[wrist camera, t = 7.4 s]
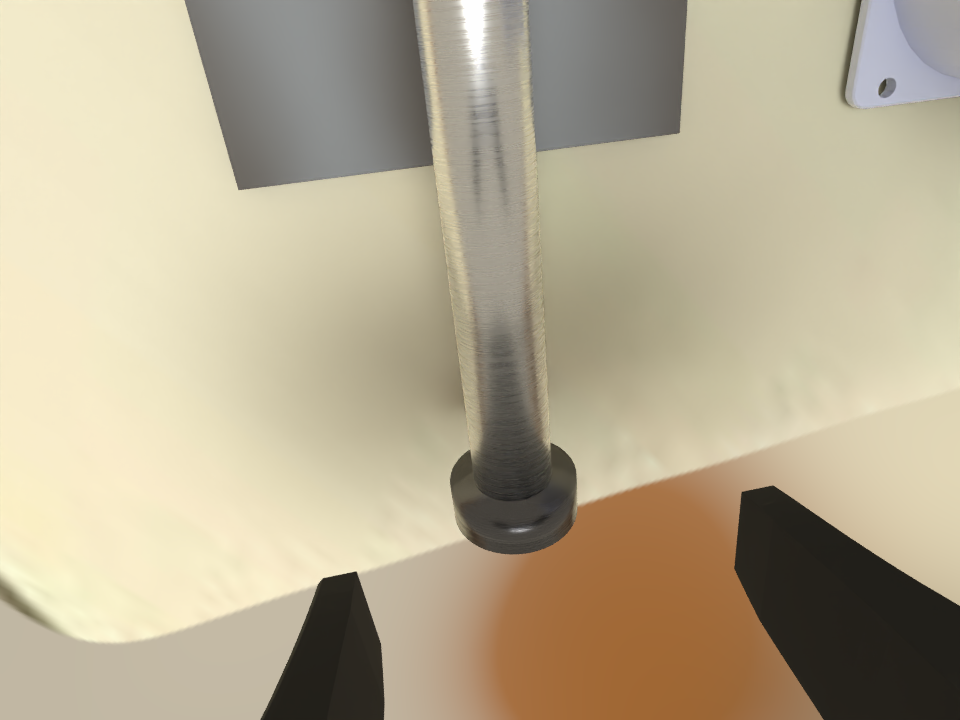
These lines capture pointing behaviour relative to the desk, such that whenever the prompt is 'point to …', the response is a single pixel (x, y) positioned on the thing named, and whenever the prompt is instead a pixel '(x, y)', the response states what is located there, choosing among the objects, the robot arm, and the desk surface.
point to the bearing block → (419, 80)
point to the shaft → (494, 270)
